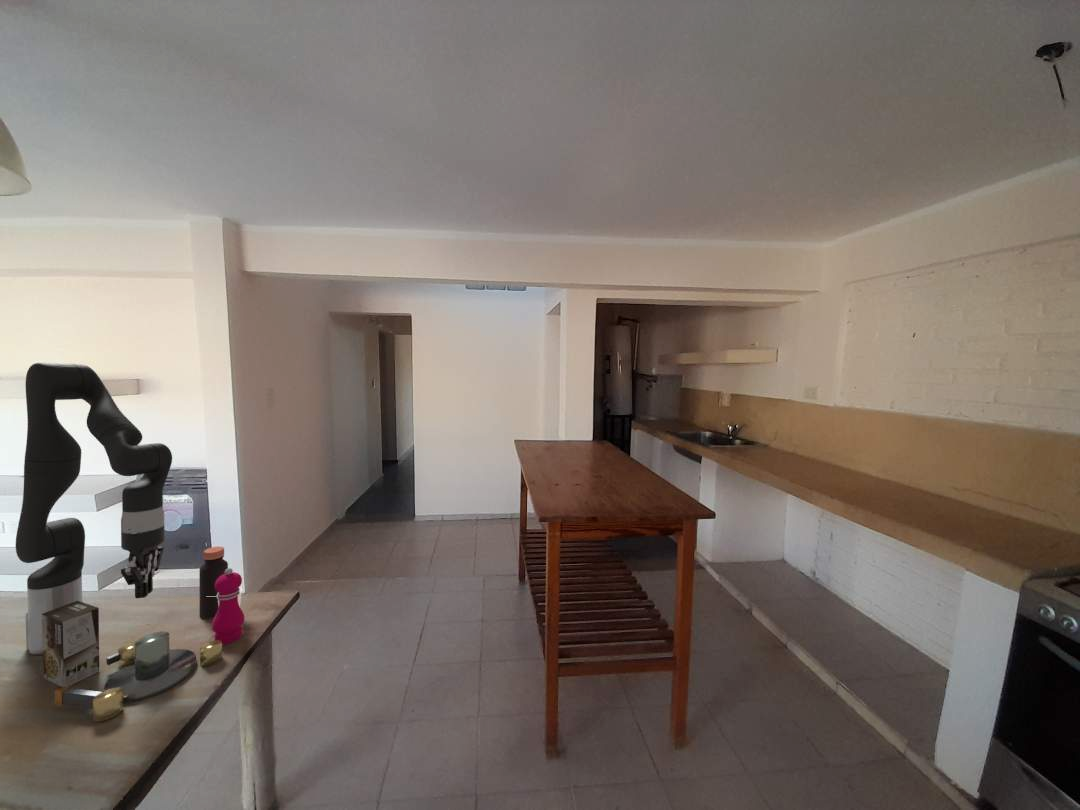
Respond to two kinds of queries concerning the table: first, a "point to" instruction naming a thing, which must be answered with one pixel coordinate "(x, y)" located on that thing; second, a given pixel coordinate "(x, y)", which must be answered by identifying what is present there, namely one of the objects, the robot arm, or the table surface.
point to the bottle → (211, 580)
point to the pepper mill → (228, 608)
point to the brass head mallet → (92, 701)
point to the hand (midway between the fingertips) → (143, 594)
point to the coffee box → (70, 643)
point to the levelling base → (153, 684)
